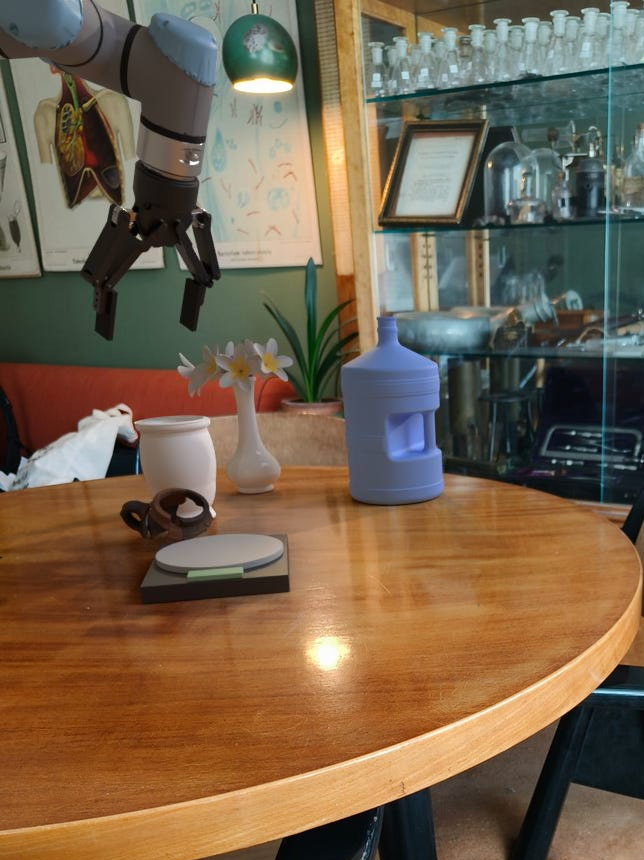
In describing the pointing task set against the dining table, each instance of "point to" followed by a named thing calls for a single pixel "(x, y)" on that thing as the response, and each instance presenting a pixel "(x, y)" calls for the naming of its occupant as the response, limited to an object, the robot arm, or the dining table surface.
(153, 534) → the pottery mug
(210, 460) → the jar
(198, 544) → the scale
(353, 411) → the water jug
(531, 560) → the dining table surface
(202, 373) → the flower vase
